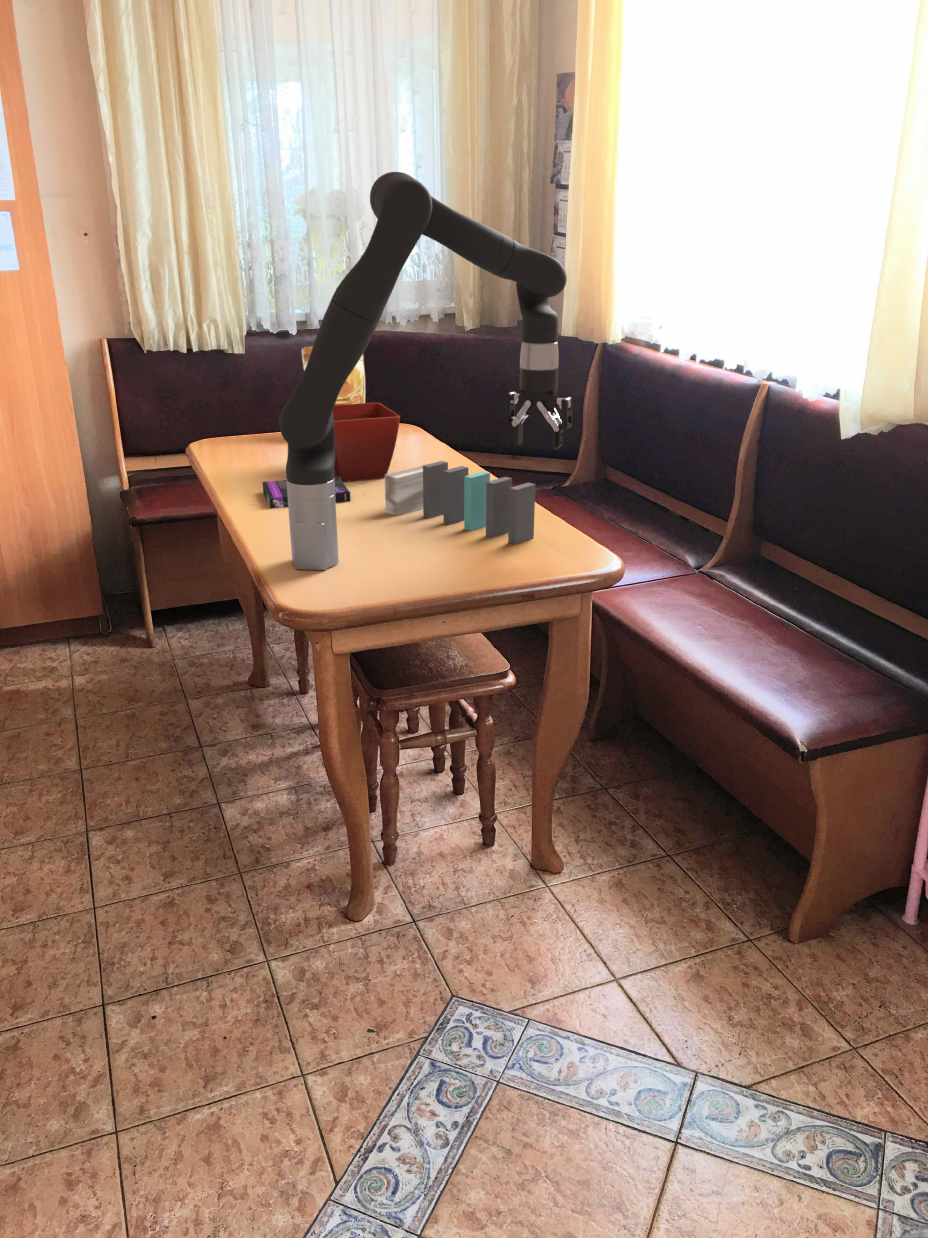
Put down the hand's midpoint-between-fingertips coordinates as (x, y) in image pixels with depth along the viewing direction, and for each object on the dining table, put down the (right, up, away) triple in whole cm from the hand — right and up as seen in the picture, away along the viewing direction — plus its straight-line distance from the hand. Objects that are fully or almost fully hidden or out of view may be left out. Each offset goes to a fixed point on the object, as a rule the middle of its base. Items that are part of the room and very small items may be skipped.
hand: (537, 446), depth 197 cm
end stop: (-27, -9, +32) cm, 43 cm away
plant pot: (-43, +3, +59) cm, 73 cm away
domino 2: (-17, -13, +23) cm, 31 cm away
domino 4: (-7, -16, +15) cm, 23 cm away
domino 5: (-3, -18, +11) cm, 21 cm away
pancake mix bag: (-53, +18, +94) cm, 109 cm away
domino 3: (-12, -15, +19) cm, 27 cm away
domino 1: (-21, -11, +27) cm, 36 cm away
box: (-54, -6, +40) cm, 67 cm away
